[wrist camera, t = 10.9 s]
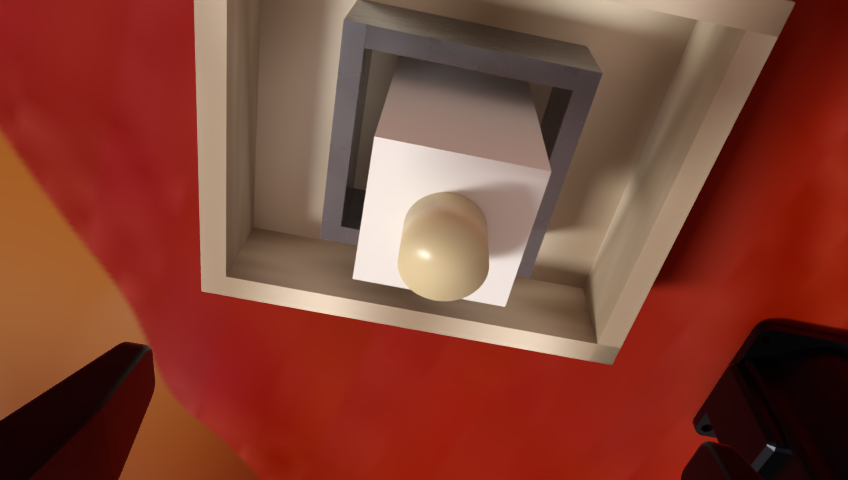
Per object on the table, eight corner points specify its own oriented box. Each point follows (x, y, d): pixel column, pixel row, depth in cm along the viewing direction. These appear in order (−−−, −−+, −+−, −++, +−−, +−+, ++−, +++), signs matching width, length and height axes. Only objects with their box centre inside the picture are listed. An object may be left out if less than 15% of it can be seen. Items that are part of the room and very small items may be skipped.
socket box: (732, -29, 17) (795, 2, 14) (591, 292, 24) (611, 365, 21) (246, -135, 17) (190, -129, 13) (239, 226, 23) (201, 291, 20)
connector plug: (528, 82, 18) (560, 205, 12) (495, 194, 21) (508, 347, 14) (399, 55, 18) (364, 167, 12) (380, 172, 20) (342, 317, 14)
